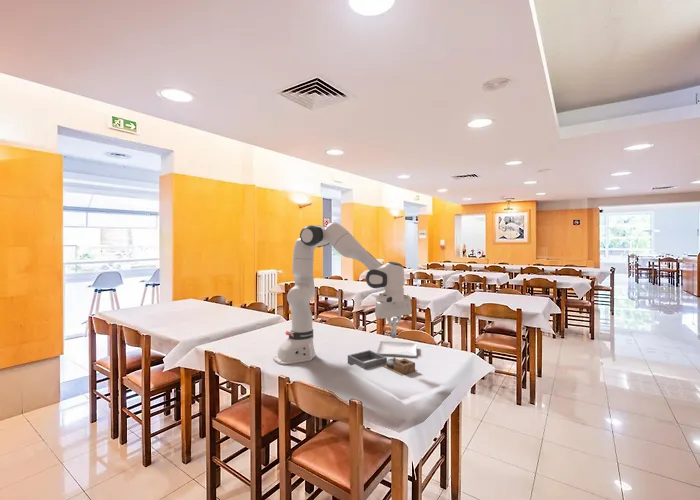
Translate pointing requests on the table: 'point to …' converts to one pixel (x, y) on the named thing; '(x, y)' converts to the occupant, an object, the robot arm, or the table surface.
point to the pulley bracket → (400, 366)
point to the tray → (366, 359)
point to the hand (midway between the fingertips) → (393, 325)
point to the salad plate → (396, 348)
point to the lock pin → (393, 328)
